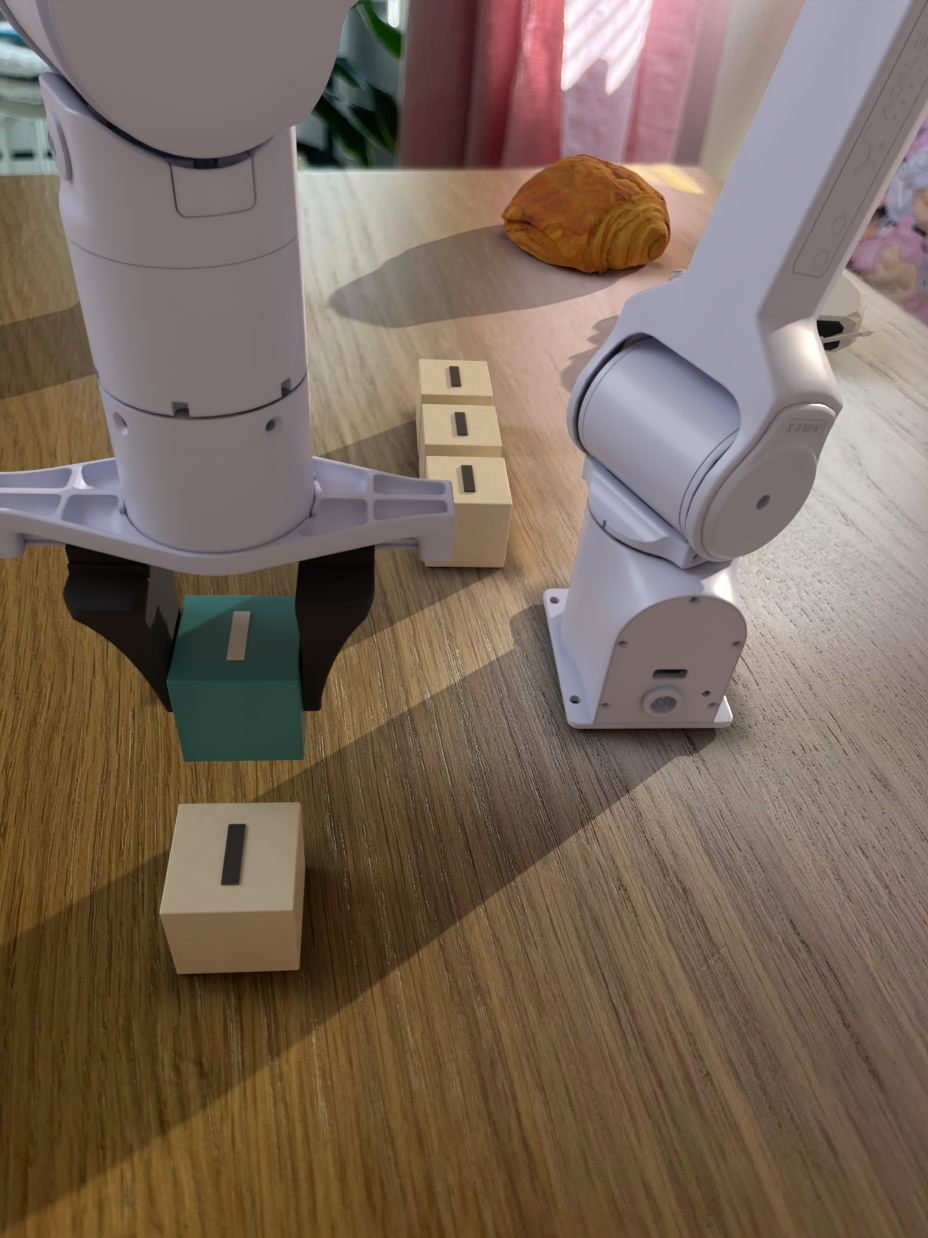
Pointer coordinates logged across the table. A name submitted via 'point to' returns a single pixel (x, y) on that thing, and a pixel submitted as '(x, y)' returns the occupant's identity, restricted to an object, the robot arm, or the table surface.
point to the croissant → (588, 216)
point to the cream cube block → (451, 385)
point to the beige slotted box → (235, 888)
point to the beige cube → (476, 508)
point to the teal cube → (238, 679)
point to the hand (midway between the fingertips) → (247, 691)
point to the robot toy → (834, 315)
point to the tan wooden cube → (458, 432)
